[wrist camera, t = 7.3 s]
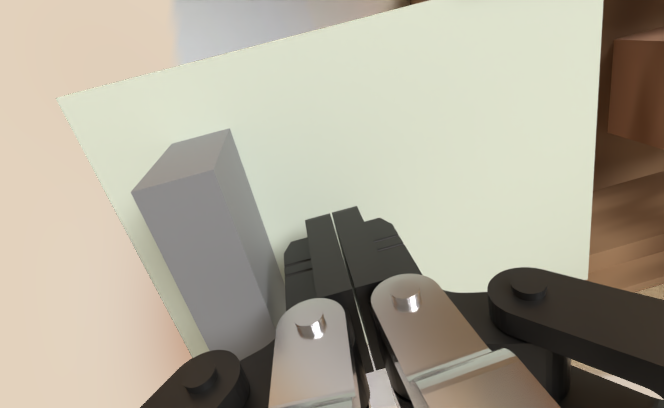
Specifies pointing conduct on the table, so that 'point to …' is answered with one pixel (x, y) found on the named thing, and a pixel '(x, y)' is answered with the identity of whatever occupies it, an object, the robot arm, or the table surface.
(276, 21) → the table surface
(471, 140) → the cover plate
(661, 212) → the walnut box
